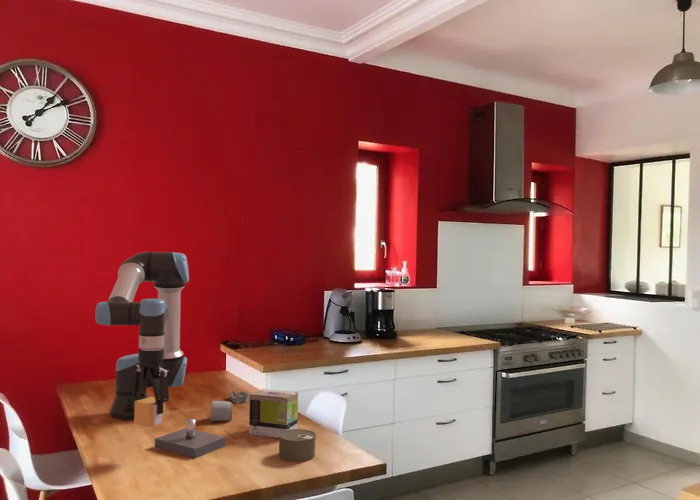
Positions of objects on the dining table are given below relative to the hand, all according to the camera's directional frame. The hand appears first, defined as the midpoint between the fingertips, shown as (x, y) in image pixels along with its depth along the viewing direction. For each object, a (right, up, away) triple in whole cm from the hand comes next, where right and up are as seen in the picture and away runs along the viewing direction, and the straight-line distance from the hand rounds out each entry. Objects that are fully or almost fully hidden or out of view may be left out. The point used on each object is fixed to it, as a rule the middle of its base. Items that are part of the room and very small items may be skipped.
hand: (149, 421), depth 179 cm
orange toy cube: (0, 0, 0) cm, 0 cm away
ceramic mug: (+12, -12, +43) cm, 47 cm away
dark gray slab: (+10, -12, +11) cm, 19 cm away
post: (+10, -9, +11) cm, 17 cm away
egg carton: (+14, -13, +73) cm, 76 cm away
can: (+46, -13, +6) cm, 48 cm away
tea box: (+35, -13, +28) cm, 47 cm away
